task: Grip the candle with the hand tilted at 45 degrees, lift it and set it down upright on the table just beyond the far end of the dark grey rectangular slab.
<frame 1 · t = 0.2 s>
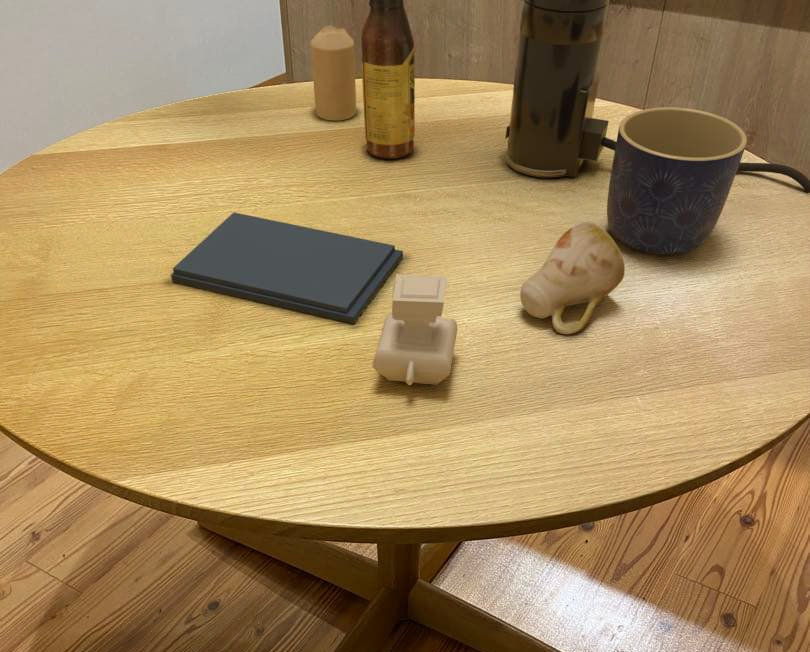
dark grey rectangular slab: (289, 269, 82), on the table
beige blocky piece: (415, 372, 71), on the table
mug: (564, 307, 78), on the table
planter: (655, 237, 87), on the table
sauce bottle: (389, 151, 100), on the table
candle: (336, 114, 108), on the table
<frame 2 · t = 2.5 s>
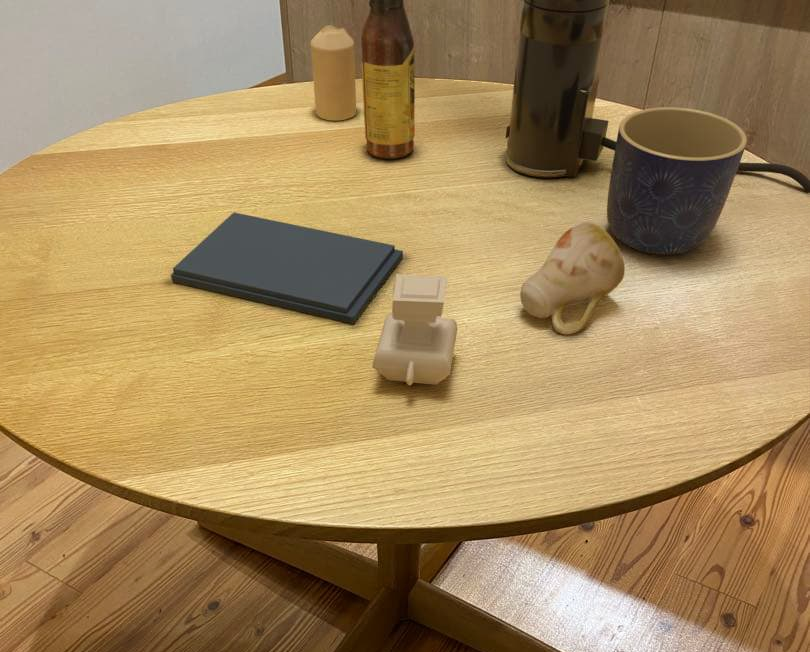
nothing on the table moved.
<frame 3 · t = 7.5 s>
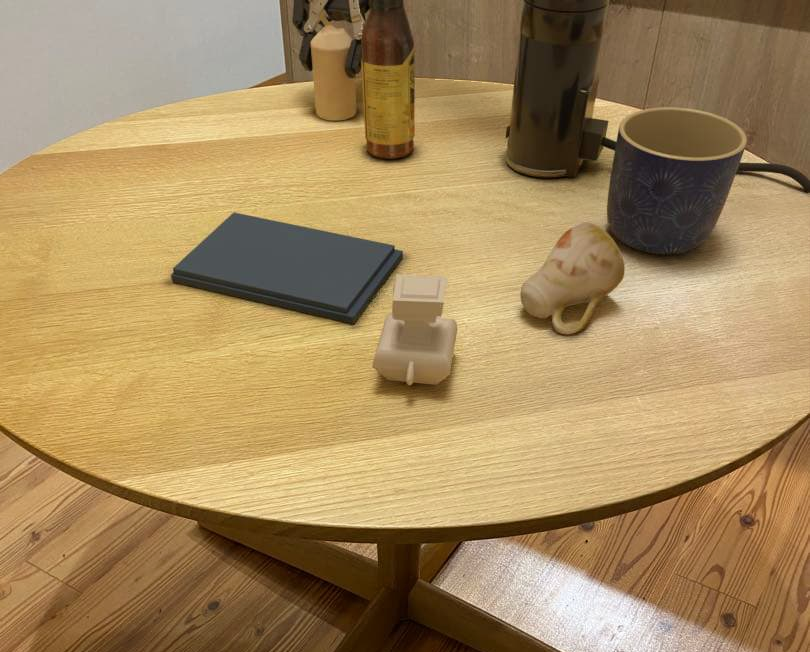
hand: (328, 70, 102), 6 cm above the table, tool tilted 45°, fingers closed on candle, 5 cm apart
candle: (336, 114, 108), on the table, touching gripper
everything else where it was.
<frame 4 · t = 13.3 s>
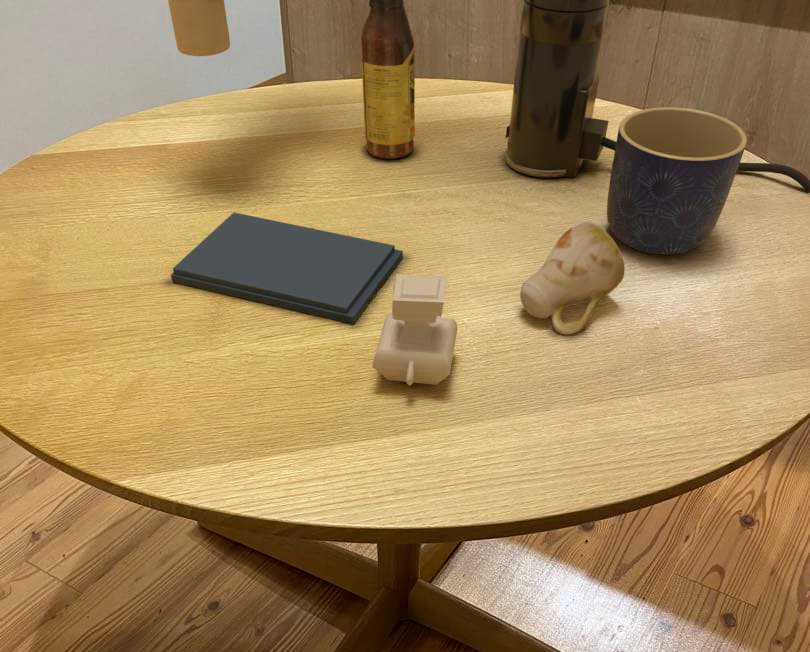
candle: (204, 49, 83), point 14 cm above the table, touching gripper
everything else where it was.
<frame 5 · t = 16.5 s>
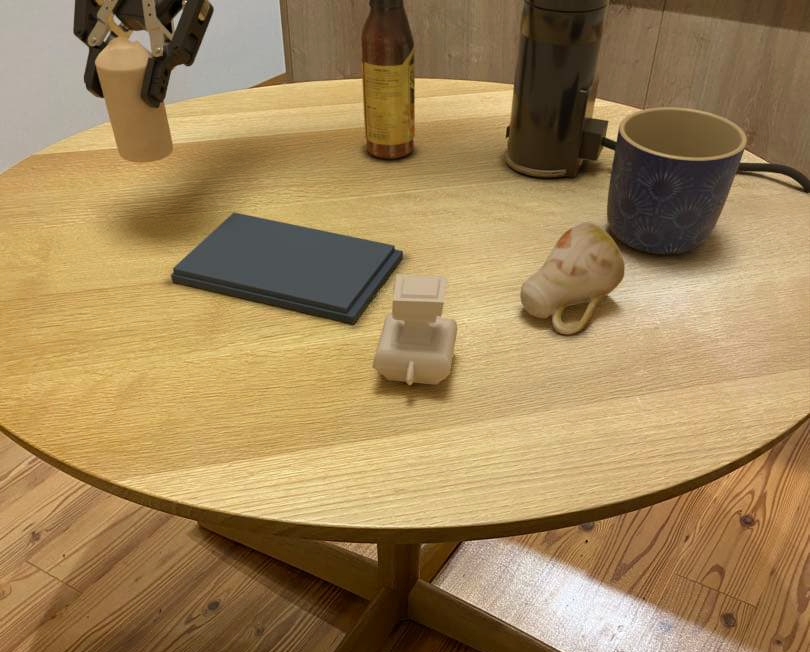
hand: (122, 98, 76), 14 cm above the table, tool tilted 45°, fingers closed on candle, 5 cm apart
candle: (147, 153, 82), point 8 cm above the table, touching gripper
everything else where it was.
when the fingers open (6 cm above the table, at t = 19.1 s): candle stays where it is, on the table.
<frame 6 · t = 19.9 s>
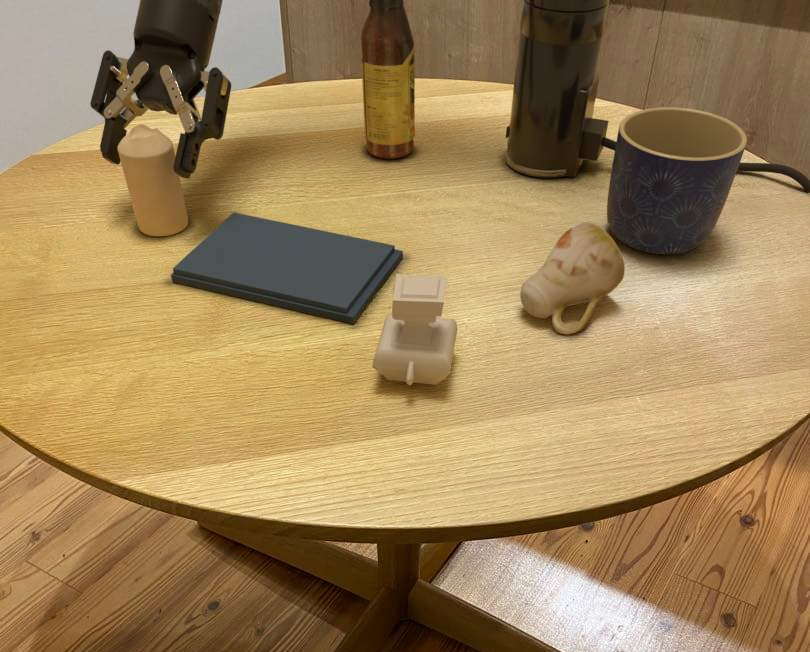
hand: (145, 168, 82), 7 cm above the table, tool tilted 45°, fingers open, 8 cm apart
candle: (164, 226, 88), on the table
everything else where it was.
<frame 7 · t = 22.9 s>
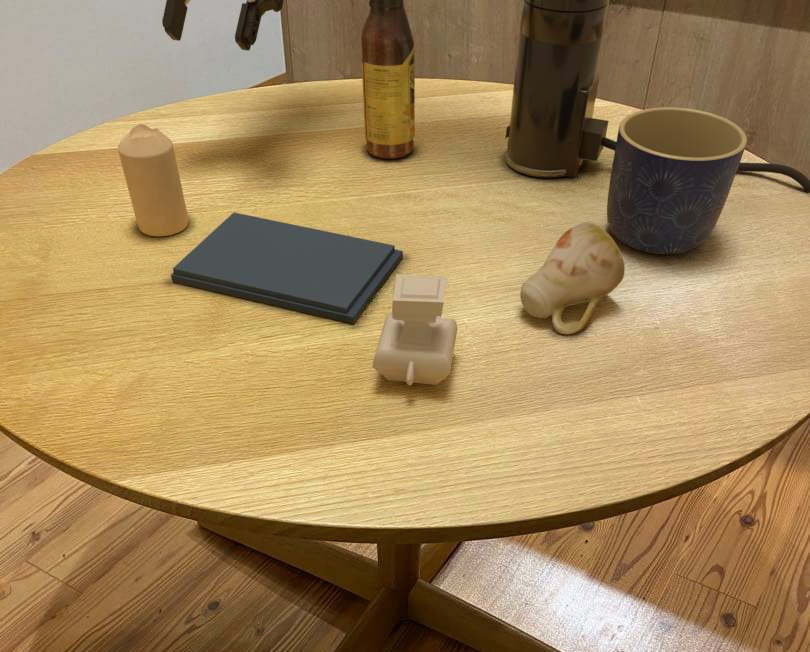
hand: (206, 41, 84), 14 cm above the table, tool tilted 45°, fingers open, 8 cm apart
nothing on the table moved.
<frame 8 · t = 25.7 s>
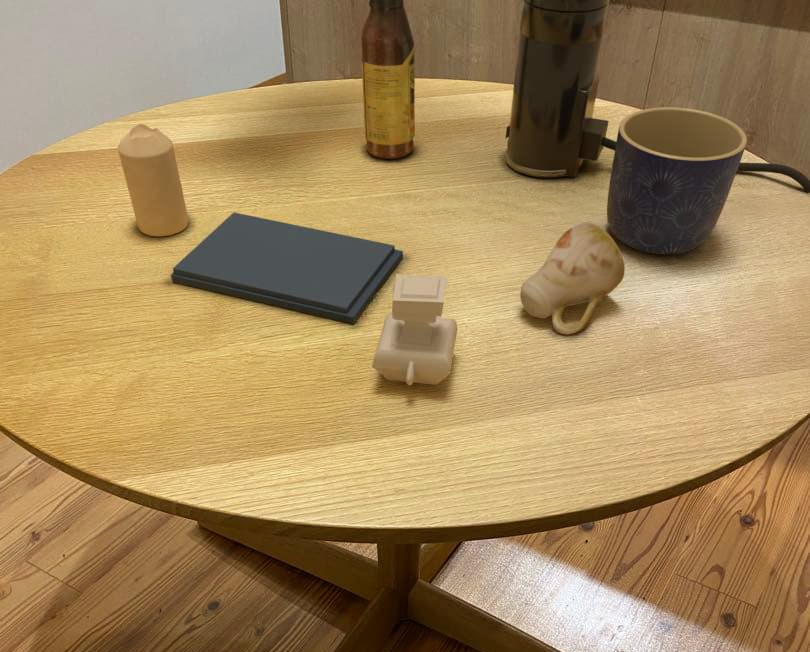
nothing on the table moved.
at the end: candle inside the target area on the table beside the dark grey rectangular slab (1.3 cm from its centre), on the table; candle tilted 0°; the gripper is holding nothing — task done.
